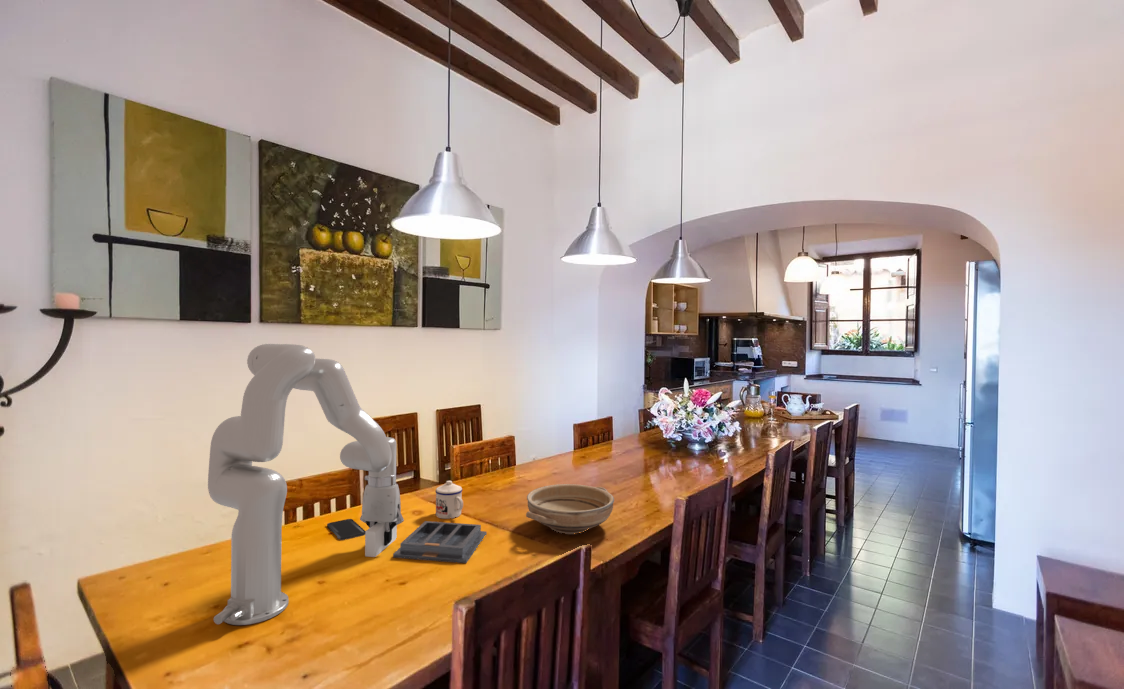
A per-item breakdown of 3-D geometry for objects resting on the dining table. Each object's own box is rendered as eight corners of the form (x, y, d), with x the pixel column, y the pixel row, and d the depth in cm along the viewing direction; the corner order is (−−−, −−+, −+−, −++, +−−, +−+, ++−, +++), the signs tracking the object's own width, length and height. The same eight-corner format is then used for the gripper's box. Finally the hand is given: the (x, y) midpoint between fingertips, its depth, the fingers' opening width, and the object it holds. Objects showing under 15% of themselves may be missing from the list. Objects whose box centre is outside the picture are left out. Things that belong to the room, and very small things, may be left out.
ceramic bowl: (566, 558, 140) (566, 522, 140) (497, 531, 159) (498, 500, 159) (637, 523, 168) (637, 493, 168) (572, 503, 187) (572, 476, 187)
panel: (375, 557, 139) (375, 532, 139) (365, 556, 139) (365, 531, 139) (396, 538, 152) (396, 515, 152) (387, 537, 152) (387, 515, 152)
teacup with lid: (429, 514, 172) (430, 481, 172) (451, 508, 179) (451, 476, 179) (450, 523, 164) (451, 488, 164) (472, 516, 171) (473, 482, 171)
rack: (466, 563, 136) (466, 549, 136) (393, 557, 139) (393, 543, 139) (486, 534, 156) (486, 522, 156) (422, 530, 159) (422, 518, 158)
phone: (351, 518, 166) (366, 532, 154) (351, 521, 166) (366, 535, 154) (325, 523, 161) (339, 538, 149) (325, 527, 161) (339, 541, 149)
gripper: (349, 482, 143) (348, 546, 143) (403, 485, 140) (402, 550, 141) (362, 475, 150) (362, 536, 150) (414, 478, 148) (413, 540, 148)
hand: (381, 542), depth 145 cm, fingers closed on panel, 2 cm apart
